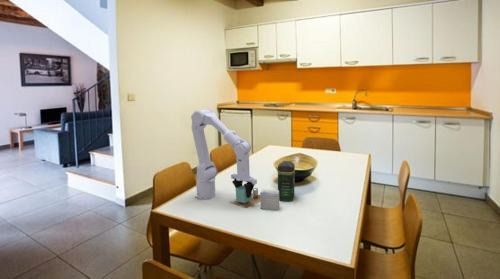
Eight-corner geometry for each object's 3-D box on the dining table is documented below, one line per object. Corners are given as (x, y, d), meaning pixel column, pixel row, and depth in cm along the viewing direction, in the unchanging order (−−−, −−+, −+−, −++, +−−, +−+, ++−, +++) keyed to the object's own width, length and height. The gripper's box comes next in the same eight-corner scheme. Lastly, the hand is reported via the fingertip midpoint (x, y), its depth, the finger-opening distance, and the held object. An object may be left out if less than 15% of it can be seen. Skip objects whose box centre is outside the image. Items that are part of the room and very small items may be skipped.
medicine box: (279, 208, 136) (279, 189, 134) (277, 212, 132) (277, 193, 130) (262, 206, 138) (262, 188, 136) (260, 210, 134) (260, 192, 132)
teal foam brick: (236, 200, 140) (235, 188, 139) (243, 196, 144) (243, 185, 143) (244, 203, 137) (243, 190, 136) (251, 199, 141) (251, 187, 140)
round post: (251, 197, 147) (251, 189, 146) (255, 196, 149) (255, 187, 148) (255, 199, 145) (255, 190, 144) (259, 197, 147) (259, 188, 146)
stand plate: (230, 204, 142) (230, 202, 141) (253, 194, 153) (253, 193, 153) (246, 209, 135) (246, 208, 135) (268, 199, 147) (268, 197, 146)
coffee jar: (293, 203, 140) (293, 165, 137) (276, 202, 142) (275, 164, 139) (295, 196, 149) (295, 160, 146) (280, 195, 151) (279, 159, 148)
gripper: (225, 167, 140) (227, 194, 142) (249, 172, 130) (250, 202, 133) (236, 163, 145) (237, 190, 147) (259, 168, 135) (260, 197, 138)
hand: (244, 195), depth 140 cm, fingers closed on teal foam brick, 5 cm apart
